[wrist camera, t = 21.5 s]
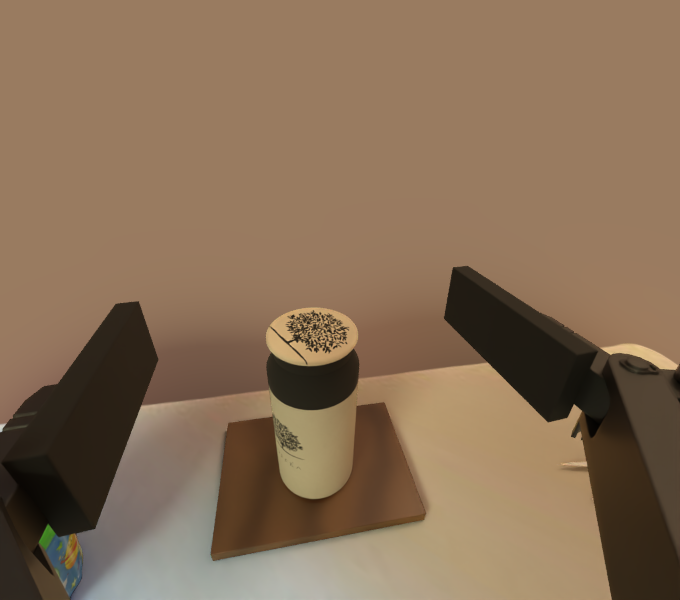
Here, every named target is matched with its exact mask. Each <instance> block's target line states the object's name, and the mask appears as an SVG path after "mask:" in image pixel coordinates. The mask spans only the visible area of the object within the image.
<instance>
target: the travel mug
mask: <svg viewBox="0 0 680 600" xmlns="http://www.w3.org/2000/svg"><path fill="white" fill-rule="evenodd" d="M357 340H358V331H357V328H356V326H355V324H354V323H353V322H352V320H350V319H349V318H348V317H347V316H345V315H344V314H342V313H339V312H337V311H334V310H330V309H325V308H303V309H298V310H294V311H291V312H288V313H286V314H284V315H282V316H280V317H279V318H277V319H276V320H275V321H274V322H273V323H272V324H271V325H270V326H269V328H268V330H267V333H266V343H267V346H268V348H269V349H270V350H271V354H270V356H269V358H268V361H267V376H268V384H269V392H270V399H271V407H272V415H273V423H274V430H275V438H276V446H277V454H278V461H279V469H280V474H281V477H282V480H283V482H284V483H285V485H286V486H287V487H288V488H289V489H290V490H291V491H292V492H293V493H295V494H297V495H299V496H301V497H304V498H309V499H320V498H324V497H328V496H330V495H332V494H334V493H336V492H337V491H339V490H340V489H341V488H342V487H343V486H344V485H345V483H346V482H347V481H348V479H349V477H350V474H351V471H352V466H353V451H354V436H355V421H356V405H357V390H358V375H359V374H358V373H359V359H358V356H357V354H356V352H355V350H354V349H353V348H354V347H355V345H356V343H357Z"/></svg>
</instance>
